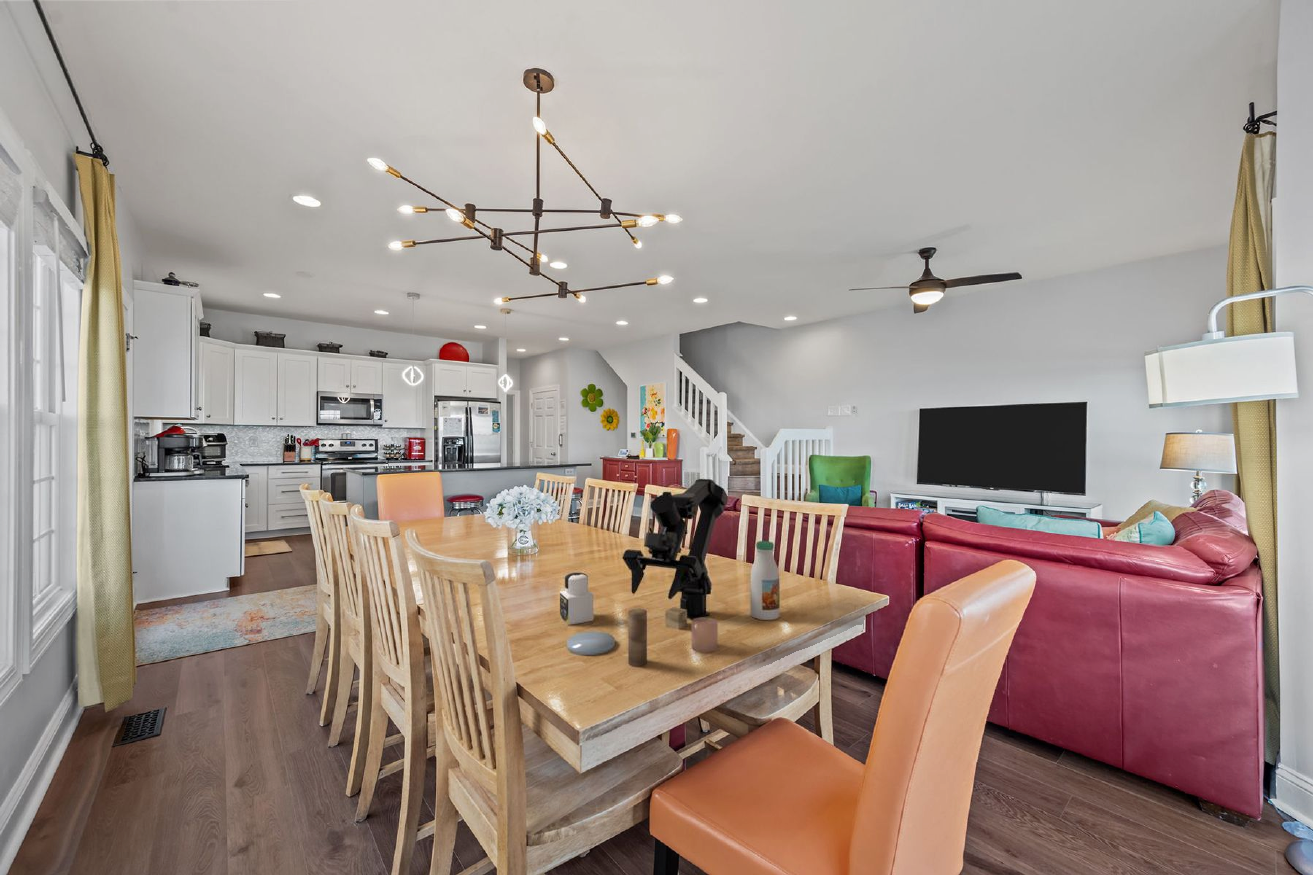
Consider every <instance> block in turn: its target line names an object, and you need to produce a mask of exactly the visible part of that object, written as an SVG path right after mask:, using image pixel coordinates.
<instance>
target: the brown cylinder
mask: <svg viewBox="0 0 1313 875" xmlns="http://www.w3.org/2000/svg"><path fill="white" fill-rule="evenodd" d="M627 615H628V616H627V618H628V621H627V625H628V629H627V633H628V636H627V639H628V640H627V641H628V642H627V643H628V648H627V649H628V650H627V652H628V653H627V654H628V656H627V657H628V658H627V659H628V663H627V664H628V665H629V666H631V667H635V668H636V667H637V668H638V667H639V668H641V667H644V666H646V665H647V664H648V611H647V610H646V609H643V608H633V609H629V610H628V613H627Z"/></svg>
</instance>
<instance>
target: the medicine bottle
mask: <svg viewBox="0 0 1313 875" xmlns="http://www.w3.org/2000/svg"><path fill="white" fill-rule="evenodd" d="M588 580H589V578H588V574H586V573H583V572H570V573H568V574H566V575H565V576H564V590H560V591H559V618H561V619H562V621H563V622H564V623H565V624H566V625H568V626H571V625H577V624H581V623H582V624H583V623H588V622H593V621H594V594H593V593H592V592H591V591H589V586H588V584H589V581H588Z"/></svg>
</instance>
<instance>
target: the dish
mask: <svg viewBox="0 0 1313 875" xmlns="http://www.w3.org/2000/svg"><path fill="white" fill-rule="evenodd" d="M615 644H616V643H615V637H614V636H613V635H612V634H610V633H608V632H603V631H583V632H580V633H576V634H574V635H572V636H570V637H569V638H568V639H567V641H566V649H567V650H568V651H569V652H571V653H572V654H575V655H580V656H596V655H598V656H599V655H602V654H606V653H608V652H610V651H612V650H613V649H614V648H615Z"/></svg>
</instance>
